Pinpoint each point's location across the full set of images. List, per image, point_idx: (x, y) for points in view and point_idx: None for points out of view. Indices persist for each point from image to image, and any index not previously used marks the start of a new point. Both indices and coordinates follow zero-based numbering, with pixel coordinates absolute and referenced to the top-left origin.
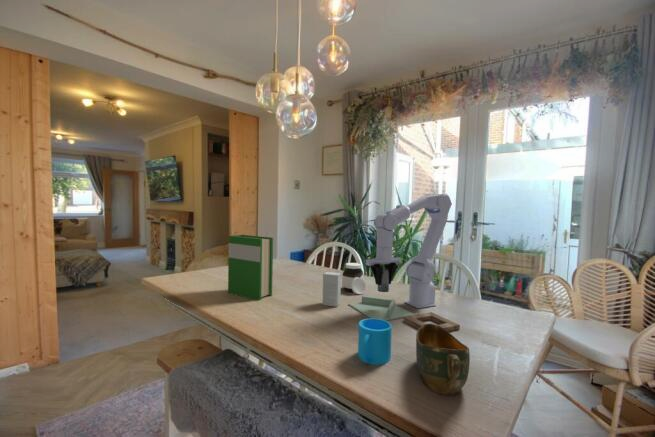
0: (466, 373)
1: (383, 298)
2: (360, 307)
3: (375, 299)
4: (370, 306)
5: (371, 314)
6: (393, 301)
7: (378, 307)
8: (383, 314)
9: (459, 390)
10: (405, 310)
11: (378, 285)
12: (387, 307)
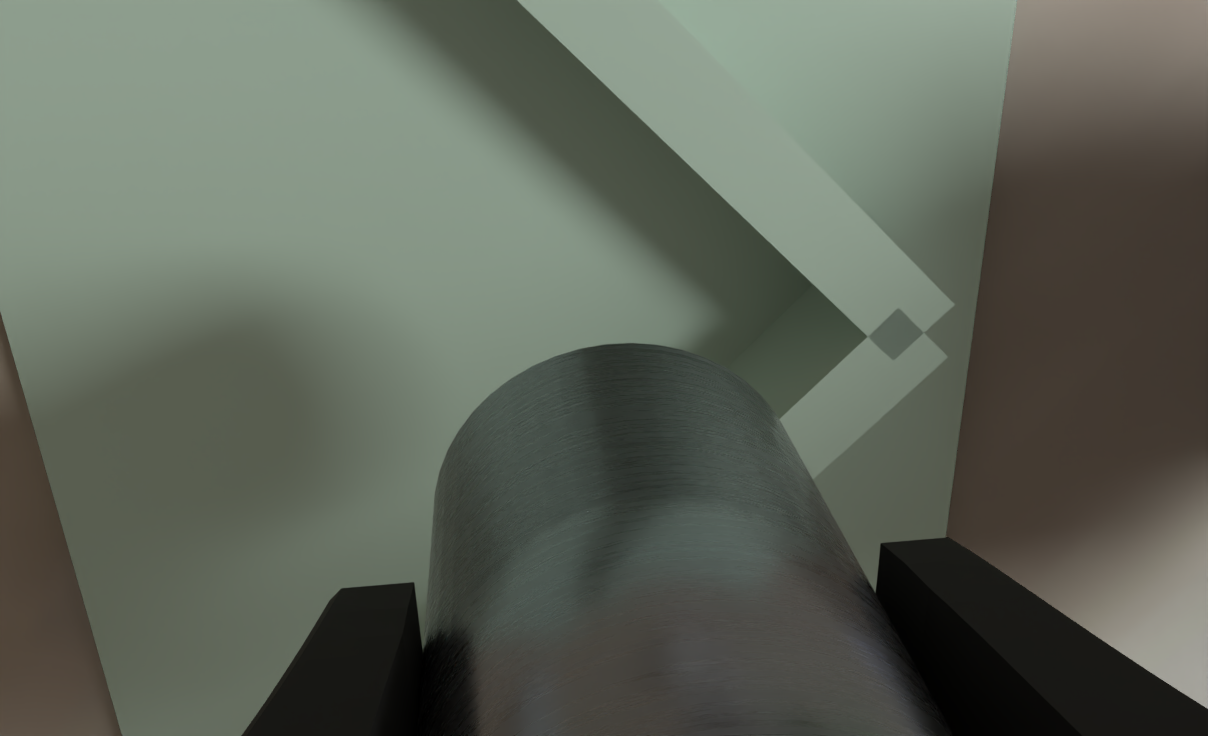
0: None
1: (768, 133)
2: (72, 81)
3: (557, 38)
4: (363, 96)
5: (161, 528)
6: (840, 418)
7: (517, 219)
8: (397, 580)
9: None
10: (924, 514)
11: (426, 631)
12: (712, 276)
